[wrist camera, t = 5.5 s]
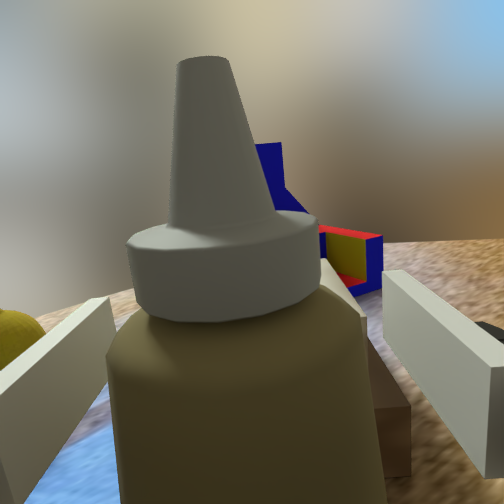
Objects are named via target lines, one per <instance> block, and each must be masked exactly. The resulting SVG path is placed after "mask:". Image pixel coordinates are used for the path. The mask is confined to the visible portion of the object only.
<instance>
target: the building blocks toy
mask: <svg viewBox="0 0 504 504" xmlns="http://www.w3.org/2000/svg"><path fill="white" fill-rule="evenodd" d="M255 147H256V150H257V153H258V157H259V160H260V163H261V166H262V169H263V173H264V176H265V179H266V182H267V185H268V189H269V192H270V195H271V198H272V202H273V205H274V208H275V211H295V212H305V213H307V214H309V213H308V212H307V211H306V210H305V209H304V208H303V206H302V205H301V204H300V203H299V202H298V201H297V200H296V199H295V198H294V197H293V196H292V194H291V193H290V192H289V191H288V190H286V188H285V182H284V169H283V157H282V145H281V142H278V143H265V144H255ZM318 227H319V243H320V259H322V258H326V259H327V261H328V262H329V264H330V265H331V266H332V268H333V269H334V271H335V272H336V274H337V275H338V276H339V278H340V279H341V281H342V282H343V283H344V285H345V286H346V288H347V289H348V291H349V292H350V293H351V295H352V296H353V297H356V296H359V295H362V294H365V293H368V292H372V291H375V290H378V289H381V288H382V271H383V235H378V234H371V233H365V232H359V231H354V230H348V229H342V228H336V227H330V226H323V225H319V224H318Z"/></svg>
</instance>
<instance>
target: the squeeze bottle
mask: <svg viewBox="0 0 504 504" xmlns="http://www.w3.org/2000/svg"><path fill="white" fill-rule="evenodd" d="M169 199H170V200H169V215H168V223H167V224H163V225H159V226H155V227H151V228H149V229H147V230H144V231H141V232H138V233H136V234H134V235H133V236H132V237H131V238H130V239H129V240H128V242H127V243H126V249H127V254H128V260H129V265H130V270H131V275H132V280H133V285H134V291H135V296H136V301H137V303H138V304H139V305H140V306H141V307H142V308H141V309H140V310H138V311H137V312H136V313H134V314H133V315H132V316H131V317H130V318H129V319H128V320H127V321H126V323H125V324H124V325H123V326H122V327H121V328H120V329H119V331H118V332H117V333H116V335H115V337H114V339H113V341H112V343H111V345H110V347H109V350H108V352H107V354H106V356H105V357H106V366H107V376H108V386H109V395H110V405H111V415H112V424H113V434H114V444H115V454H116V463H117V473H118V483H119V492H120V502H121V504H388V502H387V495H386V488H385V481H384V474H383V468H382V461H381V454H380V447H379V440H378V434H377V427H376V420H375V413H374V406H373V400H372V393H371V386H370V379H369V372H368V365H367V359H366V352H365V345H364V338H363V331H362V325H361V318H360V314H359V313H358V312H357V311H356V310H355V309H354V308H353V307H352V306H350V305H349V304H348V303H347V302H346V301H345V300H344V299H343V298H341V297H340V296H339V295H337V294H336V293H334V292H333V291H332V290H330V289H329V288H327V287H326V286H324V285H321V284H320V280H321V259H320V243H319V227H318V219H317V218H316V217H314V216H312V215H310V214H307V213H305V212H295V211H275V208H274V205H273V202H272V198H271V195H270V192H269V189H268V185H267V182H266V179H265V176H264V173H263V169H262V166H261V163H260V160H259V157H258V153H257V150H256V147H255V144H254V140H253V137H252V134H251V131H250V128H249V124H248V121H247V118H246V115H245V112H244V108H243V105H242V102H241V99H240V95H239V92H238V89H237V86H236V83H235V79H234V76H233V73H232V70H231V67H230V63H229V61H228V60H227V59H226V58H223V57H219V56H201V57H194V58H189V59H185V60H183V61H180V62H179V63H178V64H177V68H176V88H175V105H174V125H173V142H172V160H171V179H170V198H169Z"/></svg>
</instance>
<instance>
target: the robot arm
mask: <svg viewBox="0 0 504 504" xmlns="http://www.w3.org/2000/svg"><path fill="white" fill-rule="evenodd" d="M382 303H383V338H384V339H385V341H386V342H387V343H388V345H389V346H390V348H391V349H392V350H393V352H394V353H395V355H396V356H397V357H398V359H399V360H400V362H401V363H402V364H403V366H404V367H405V369H406V370H407V371H408V373H409V374H410V376H411V377H412V378H413V380H414V381H415V383H416V384H417V385H418V387H419V388H420V390H421V391H422V392H423V394H424V395H425V397H426V398H427V399H428V401H429V402H430V404H431V405H432V406H433V408H434V409H435V411H436V412H437V413H438V415H439V416H440V418H441V419H442V420H443V422H444V423H445V425H446V426H447V427H448V429H449V430H450V432H451V433H452V434H453V436H454V437H455V439H456V440H457V441H458V443H459V444H460V446H461V447H462V448H463V450H464V451H465V453H466V454H467V455H468V457H469V458H470V460H471V461H472V462H473V464H474V465H475V467H476V468H477V469H478V471H479V472H480V474H481V475H482V476H483V478H484V479H495V478H504V330H502V329H501V328H498V327H496V326H493V325H490V324H488V323H485V322H483V321H482V322H473V321H471V320H470V319H469V318H467V317H466V316H464V315H463V314H462V313H460V312H459V311H458V310H456V309H455V308H454V307H452V306H451V305H450V304H448V303H447V302H446V301H444V300H443V299H442V298H440V297H439V296H438V295H436V294H435V293H433V292H432V291H431V290H429V289H428V288H427V287H425V286H424V285H423V284H421V283H420V282H419V281H417V280H416V279H415V278H413V277H412V276H411V275H409V274H408V273H407V272H405V271H404V270H402V269H401V270H390V271H382ZM116 333H117V332H116V328H115V323H114V318H113V313H112V309H111V304H110V299H109V297H103V298H93V299H89V300H88V301H87V302H85V303H84V304H83V305H82V306H80V307H79V308H78V309H77V310H75V311H74V312H73V313H72V314H70V315H69V316H68V317H67V318H66V319H64V320H63V321H62V322H61V323H59V324H58V325H57V326H56V327H54V328H53V329H52V330H51V331H49V332H48V333H47V334H46V335H44V336H43V337H42V338H41V339H40V340H38V341H37V342H36V343H35V344H33V345H32V346H31V347H30V348H28V349H27V350H26V351H25V352H23V353H22V354H21V355H20V356H19V357H17V358H16V359H15V360H14V361H12V362H11V363H10V364H9V365H7V366H6V367H5V368H4V369H2V370H0V504H24V502H25V501H26V499H27V498H28V496H29V495H30V493H31V492H32V490H33V489H34V488H35V486H36V485H37V483H38V482H39V480H40V479H41V477H42V476H43V474H44V473H45V472H46V470H47V469H48V467H49V466H50V464H51V463H52V461H53V460H54V459H55V457H56V456H57V454H58V453H59V451H60V450H61V448H62V447H63V445H64V444H65V443H66V441H67V440H68V438H69V437H70V435H71V434H72V432H73V431H74V429H75V428H76V427H77V425H78V424H79V422H80V421H81V419H82V418H83V416H84V415H85V414H86V412H87V411H88V409H89V408H90V406H91V405H92V403H93V402H94V400H95V399H96V398H97V396H98V395H99V393H100V392H101V390H102V389H103V387H104V386H105V384H106V383H107V382H108V376H107V366H106V357H105V356H106V354H107V352H108V350H109V347H110V345H111V343H112V341H113V339H114V337H115V335H116Z"/></svg>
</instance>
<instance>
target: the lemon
mask: <svg viewBox="0 0 504 504" xmlns="http://www.w3.org/2000/svg"><path fill="white" fill-rule="evenodd" d="M44 335H46V333H45V331H44V330H43V328H42V327H41V326H40V324H39V323H38V322H37V321H36V320H35V319H34V318H32V317H31V316H29V315H27V314H24V313H21V312H17V311H10V310H2V309H0V370H2V369H4V368H5V367H6V366H7V365H9V364H10V363H11V362H12V361H14V360H15V359H16V358H17V357H19V356H20V355H21V354H22V353H23V352H25V351H26V350H27V349H28V348H30V347H31V346H32V345H33V344H35V343H36V342H37V341H38V340H40V339H41V338H42V337H43V336H44Z"/></svg>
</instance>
